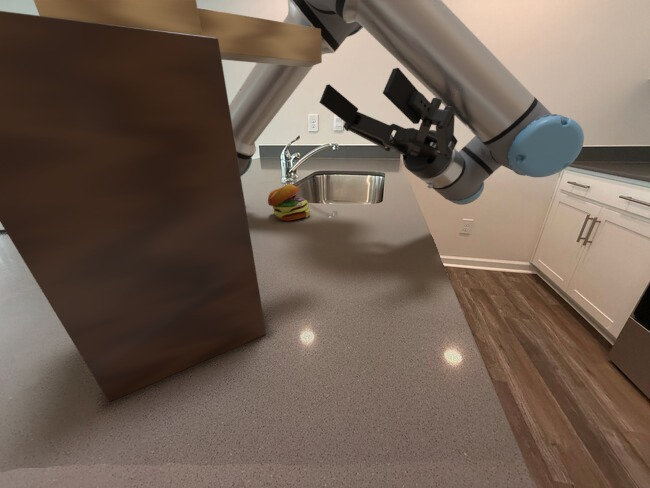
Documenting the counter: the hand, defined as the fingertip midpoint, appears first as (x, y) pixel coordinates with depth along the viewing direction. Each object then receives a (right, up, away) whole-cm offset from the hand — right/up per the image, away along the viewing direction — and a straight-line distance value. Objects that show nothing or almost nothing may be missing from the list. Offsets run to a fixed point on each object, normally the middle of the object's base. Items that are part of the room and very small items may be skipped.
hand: (351, 87), depth 33 cm
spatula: (-14, -2, -9) cm, 17 cm away
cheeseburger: (-13, -13, +40) cm, 44 cm away
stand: (-21, -32, 0) cm, 38 cm away
